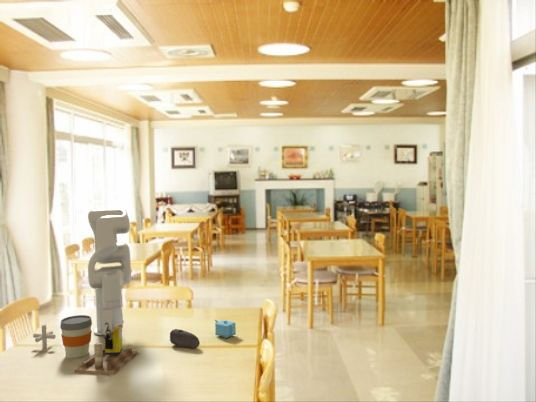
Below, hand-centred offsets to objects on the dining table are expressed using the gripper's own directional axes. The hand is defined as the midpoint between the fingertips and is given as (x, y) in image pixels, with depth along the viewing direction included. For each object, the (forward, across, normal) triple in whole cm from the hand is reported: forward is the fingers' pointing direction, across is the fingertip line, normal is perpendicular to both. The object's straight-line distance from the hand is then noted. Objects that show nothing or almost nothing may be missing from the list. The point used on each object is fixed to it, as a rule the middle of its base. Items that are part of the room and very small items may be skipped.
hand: (113, 345), depth 203 cm
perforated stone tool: (+6, -17, +25) cm, 31 cm away
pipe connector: (+6, -7, -37) cm, 38 cm away
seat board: (+5, +5, 0) cm, 7 cm away
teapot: (+6, -33, +38) cm, 51 cm away
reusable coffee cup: (+6, -2, -18) cm, 19 cm away
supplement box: (+3, 0, 0) cm, 3 cm away
